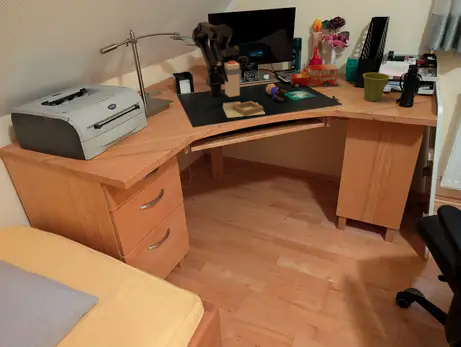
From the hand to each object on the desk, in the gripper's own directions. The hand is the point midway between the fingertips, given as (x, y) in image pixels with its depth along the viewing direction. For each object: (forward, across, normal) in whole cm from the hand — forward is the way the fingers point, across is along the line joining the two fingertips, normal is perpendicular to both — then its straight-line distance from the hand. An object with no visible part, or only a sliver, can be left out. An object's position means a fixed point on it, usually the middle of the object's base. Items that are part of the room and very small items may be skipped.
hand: (233, 81), depth 156 cm
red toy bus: (0, +54, +21) cm, 58 cm away
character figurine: (+7, +25, +13) cm, 29 cm away
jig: (+13, +2, +6) cm, 15 cm away
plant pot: (+23, +64, -4) cm, 69 cm away
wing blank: (+8, 0, +10) cm, 13 cm away
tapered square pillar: (+4, 0, +6) cm, 7 cm away
